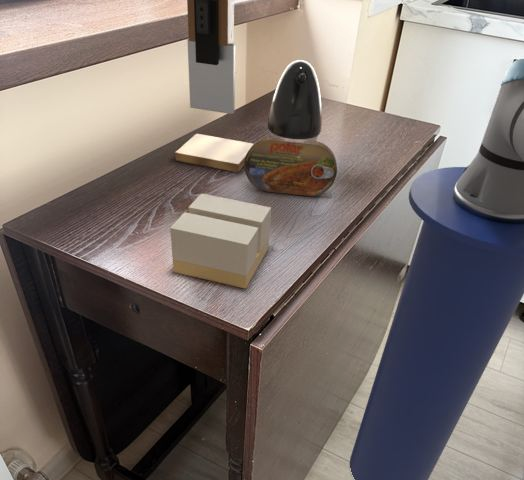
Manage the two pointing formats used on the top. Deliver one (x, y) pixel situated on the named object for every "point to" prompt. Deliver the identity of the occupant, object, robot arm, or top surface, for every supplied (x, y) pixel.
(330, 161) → the tin
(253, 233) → the slotted card holder
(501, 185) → the robot arm
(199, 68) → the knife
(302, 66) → the black white dome
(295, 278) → the top surface
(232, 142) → the board
